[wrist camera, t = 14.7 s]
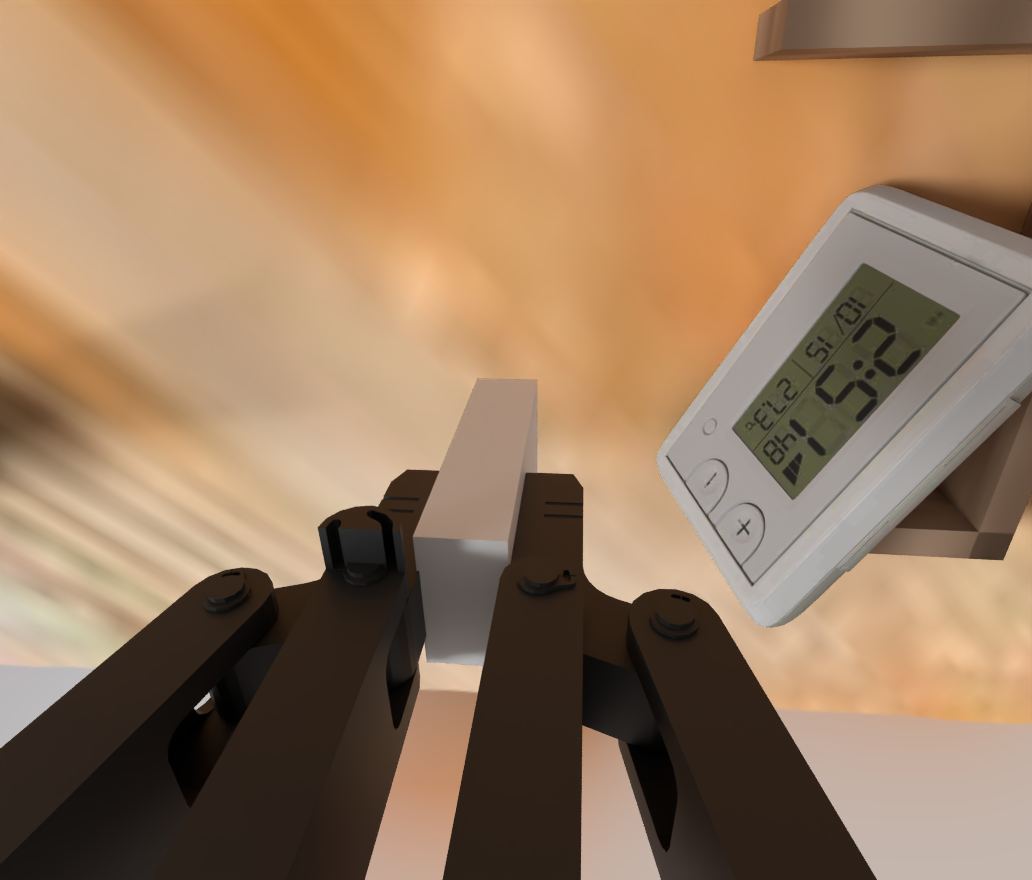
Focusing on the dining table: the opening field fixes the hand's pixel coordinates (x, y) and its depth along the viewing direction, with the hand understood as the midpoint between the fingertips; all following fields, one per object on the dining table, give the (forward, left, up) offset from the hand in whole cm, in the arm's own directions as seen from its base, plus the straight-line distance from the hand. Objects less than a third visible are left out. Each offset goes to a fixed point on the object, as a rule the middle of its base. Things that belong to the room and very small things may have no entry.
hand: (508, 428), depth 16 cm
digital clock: (+12, -3, -16) cm, 20 cm away
